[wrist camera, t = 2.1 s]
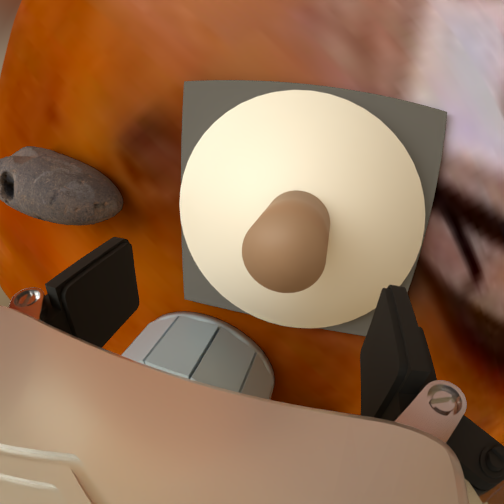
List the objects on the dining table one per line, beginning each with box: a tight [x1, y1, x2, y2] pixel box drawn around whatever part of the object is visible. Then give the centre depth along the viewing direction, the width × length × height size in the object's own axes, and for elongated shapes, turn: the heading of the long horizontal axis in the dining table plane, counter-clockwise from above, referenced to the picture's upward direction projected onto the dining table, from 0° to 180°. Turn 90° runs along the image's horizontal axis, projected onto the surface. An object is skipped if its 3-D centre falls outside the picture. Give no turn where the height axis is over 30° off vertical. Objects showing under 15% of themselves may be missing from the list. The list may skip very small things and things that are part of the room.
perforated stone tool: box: [0, 146, 124, 225], centre depth 21 cm, size 15×5×7 cm, turn 72°
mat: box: [181, 80, 447, 336], centre depth 20 cm, size 17×17×1 cm
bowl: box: [121, 311, 275, 400], centre depth 26 cm, size 14×14×7 cm
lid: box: [180, 90, 425, 328], centre depth 17 cm, size 16×16×6 cm
